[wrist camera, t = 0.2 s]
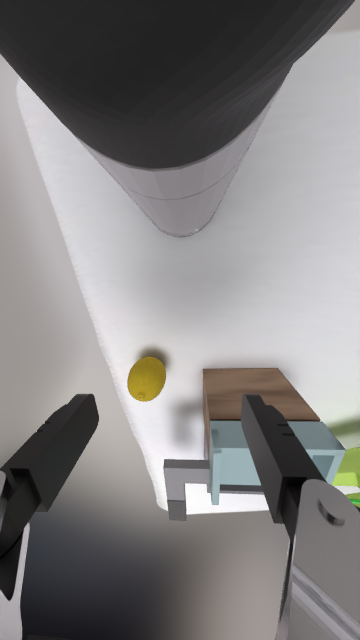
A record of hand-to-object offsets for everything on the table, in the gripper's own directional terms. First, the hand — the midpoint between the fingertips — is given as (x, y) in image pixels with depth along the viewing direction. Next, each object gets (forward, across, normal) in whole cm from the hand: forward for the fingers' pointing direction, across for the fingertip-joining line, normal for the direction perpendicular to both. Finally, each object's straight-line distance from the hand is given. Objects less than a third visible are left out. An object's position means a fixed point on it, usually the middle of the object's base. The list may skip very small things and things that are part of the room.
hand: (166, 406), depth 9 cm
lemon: (+18, +5, +8) cm, 21 cm away
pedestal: (+19, -10, +14) cm, 25 cm away
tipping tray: (+9, -7, +20) cm, 23 cm away
